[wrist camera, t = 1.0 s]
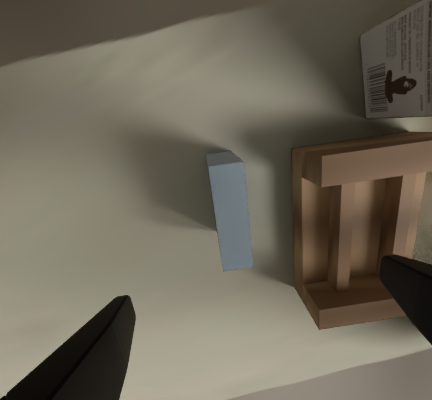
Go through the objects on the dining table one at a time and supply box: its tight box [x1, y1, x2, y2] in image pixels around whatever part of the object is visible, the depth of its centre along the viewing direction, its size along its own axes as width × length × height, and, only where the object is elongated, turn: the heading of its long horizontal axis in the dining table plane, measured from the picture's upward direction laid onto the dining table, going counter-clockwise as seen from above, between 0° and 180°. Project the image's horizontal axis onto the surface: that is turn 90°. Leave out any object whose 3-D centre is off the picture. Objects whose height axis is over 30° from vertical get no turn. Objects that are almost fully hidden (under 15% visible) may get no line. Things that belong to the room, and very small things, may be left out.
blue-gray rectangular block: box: [206, 151, 253, 272], centre depth 17 cm, size 7×2×6 cm, turn 8°
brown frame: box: [291, 132, 432, 330], centre depth 19 cm, size 14×10×5 cm
